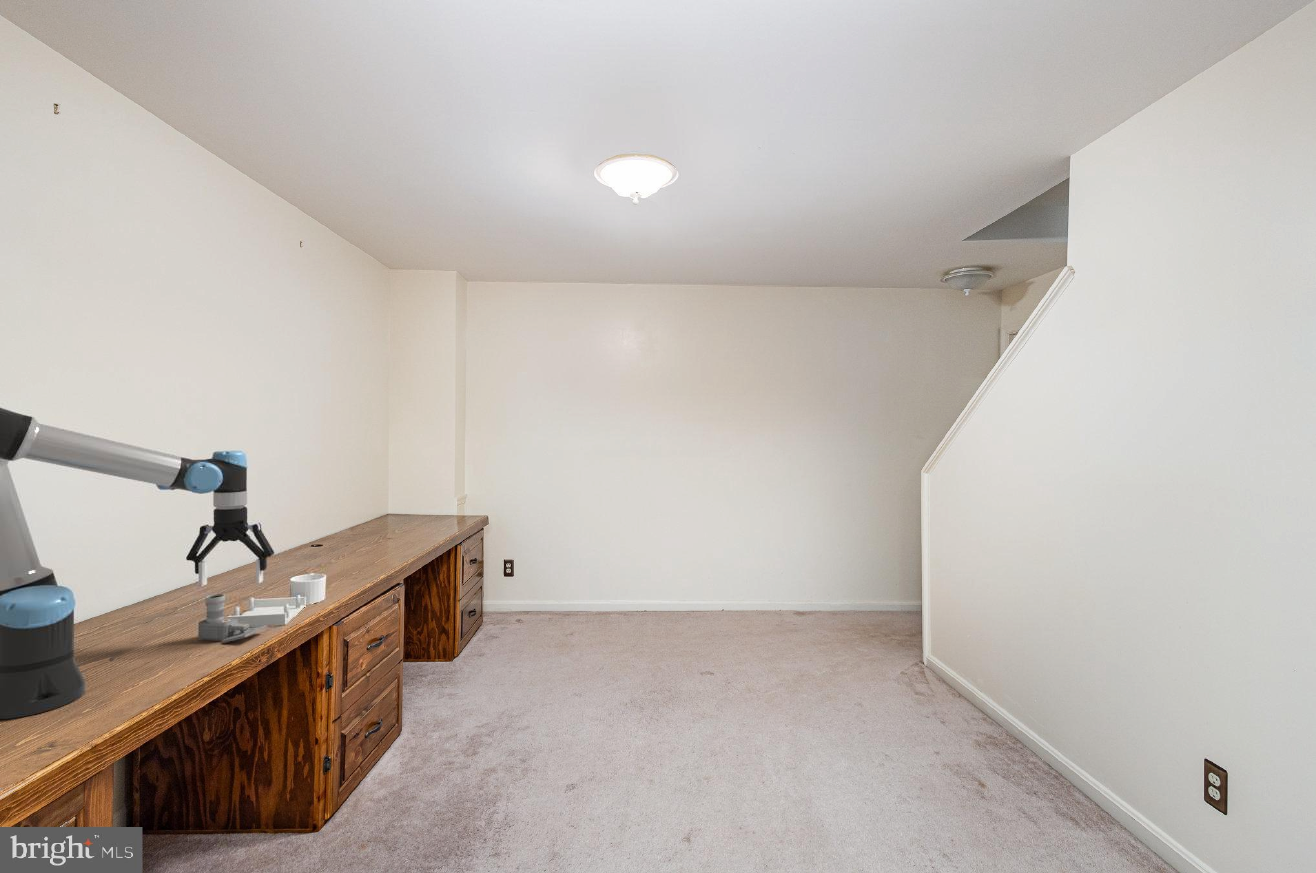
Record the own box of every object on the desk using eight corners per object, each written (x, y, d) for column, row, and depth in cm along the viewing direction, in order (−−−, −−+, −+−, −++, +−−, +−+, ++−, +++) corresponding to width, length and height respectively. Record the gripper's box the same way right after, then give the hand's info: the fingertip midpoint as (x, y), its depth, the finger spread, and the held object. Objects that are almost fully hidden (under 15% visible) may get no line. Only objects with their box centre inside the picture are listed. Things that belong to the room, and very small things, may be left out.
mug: (323, 604, 194) (323, 580, 194) (286, 607, 190) (286, 582, 190) (329, 593, 206) (329, 570, 206) (294, 596, 203) (295, 573, 202)
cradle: (285, 625, 173) (285, 608, 173) (226, 628, 170) (226, 611, 170) (305, 607, 191) (305, 591, 191) (253, 609, 187) (253, 594, 187)
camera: (215, 591, 167) (268, 592, 166) (214, 632, 167) (267, 634, 167) (190, 600, 158) (246, 601, 158) (190, 643, 158) (245, 645, 158)
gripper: (286, 503, 168) (287, 577, 169) (185, 506, 162) (186, 582, 163) (276, 507, 161) (277, 584, 162) (169, 510, 155) (170, 590, 156)
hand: (231, 583), depth 162 cm, fingers open, 13 cm apart
